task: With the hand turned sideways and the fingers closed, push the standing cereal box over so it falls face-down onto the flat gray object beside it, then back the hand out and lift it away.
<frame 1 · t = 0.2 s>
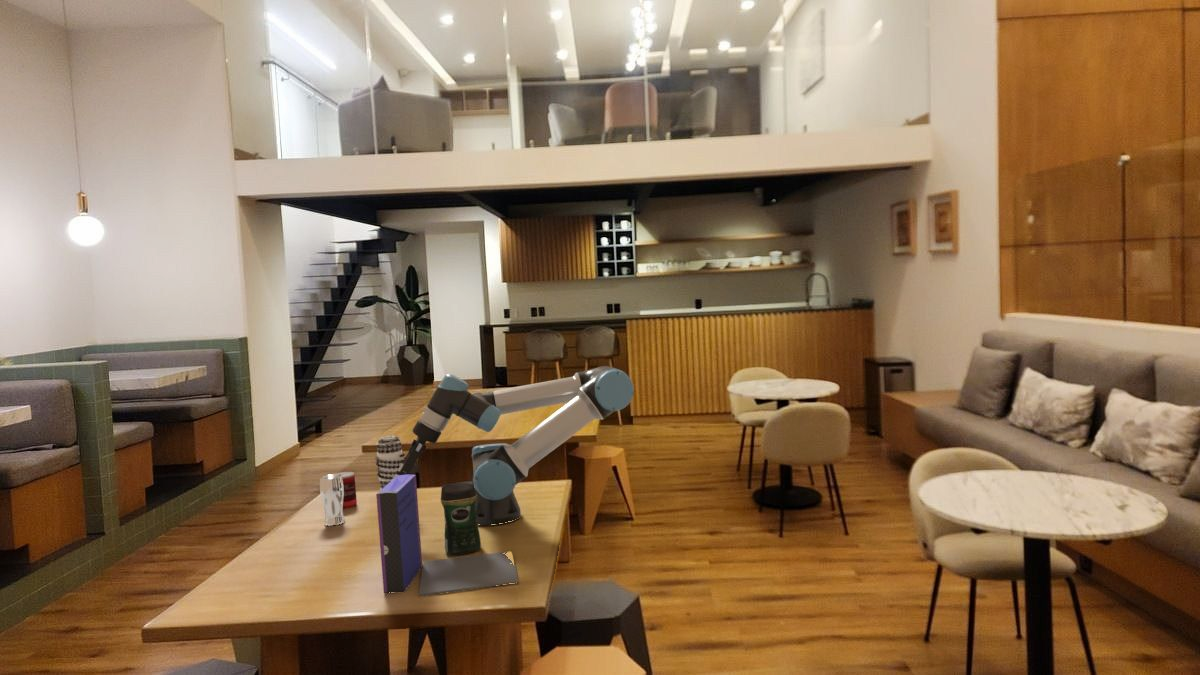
hand: (392, 491, 211), 15 cm above the table, tool tilted 35°, fingers open, 13 cm apart
flat gray object: (468, 573, 186), on the table
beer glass: (334, 523, 237), on the table
cereal box: (404, 579, 185), on the table
decorative candle: (394, 513, 244), on the table
coffee jar: (463, 551, 203), on the table
canned food: (345, 506, 256), on the table
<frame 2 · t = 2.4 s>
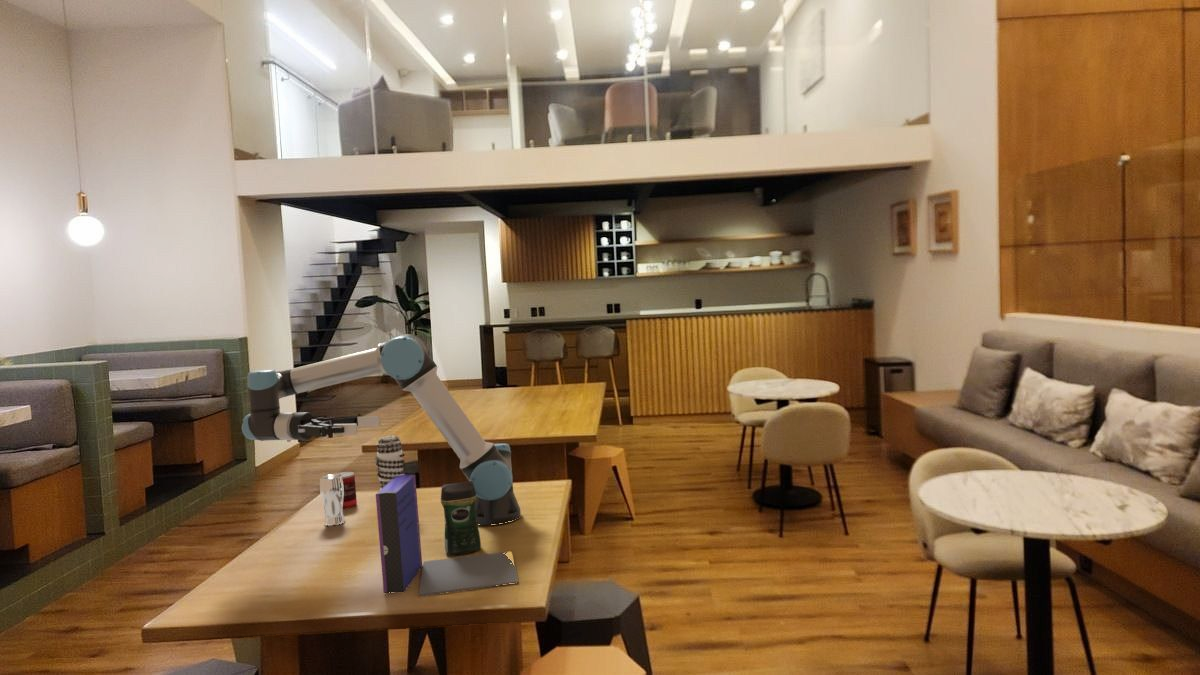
hand: (368, 425, 199), 36 cm above the table, tool horizontal, fingers open, 10 cm apart
nothing on the table moved.
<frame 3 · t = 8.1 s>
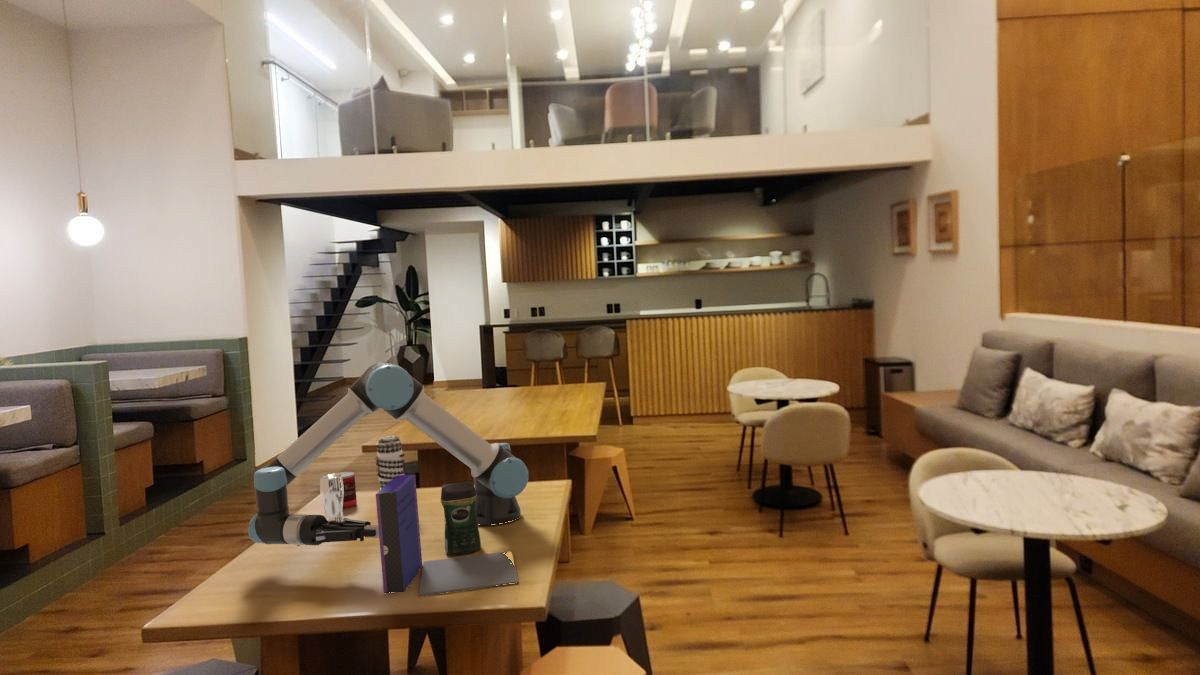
hand: (389, 531, 185), 12 cm above the table, tool horizontal, fingers closed
cereal box: (404, 579, 185), on the table, touching gripper
everything else where it was.
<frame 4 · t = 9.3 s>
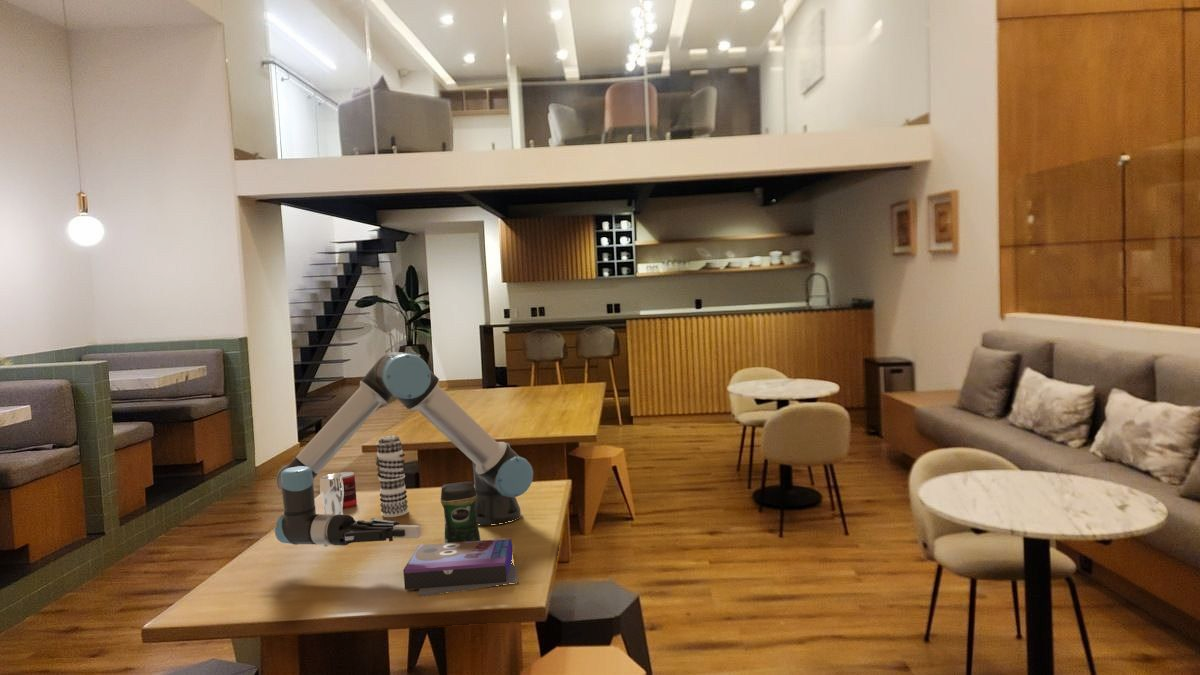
hand: (418, 531, 183), 12 cm above the table, tool horizontal, fingers closed
cereal box: (411, 566, 185), point 3 cm above the table, touching flat gray object
everything else where it was.
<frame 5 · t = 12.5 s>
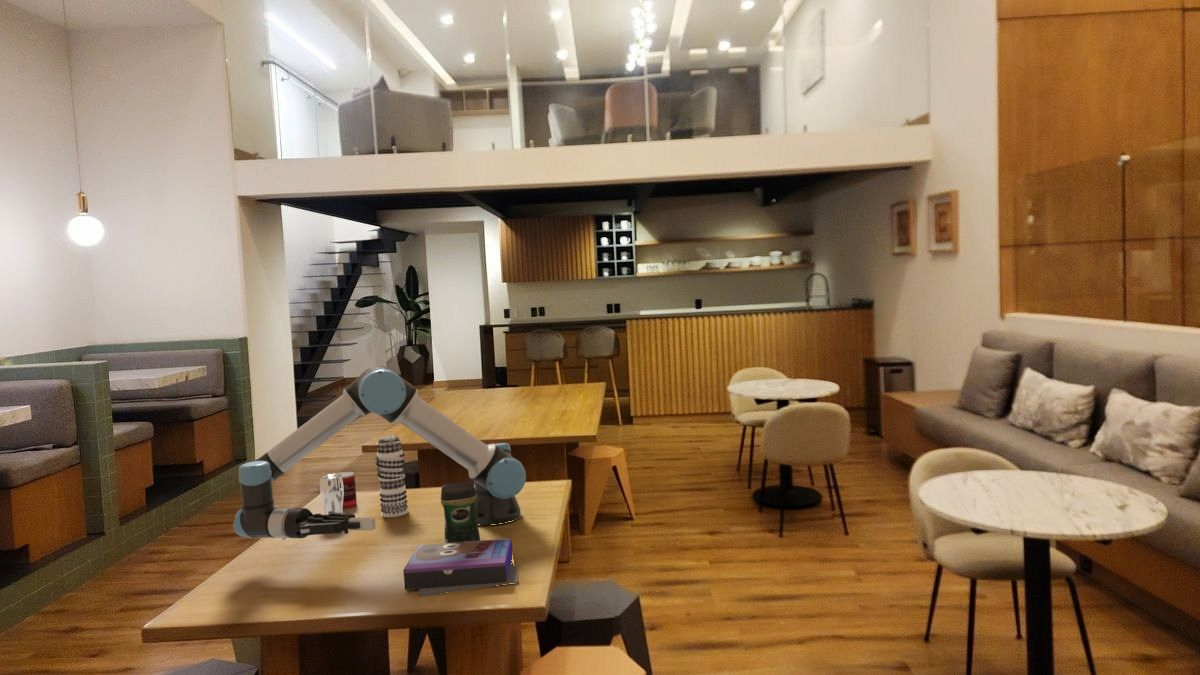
hand: (373, 524, 186), 14 cm above the table, tool horizontal, fingers closed
nothing on the table moved.
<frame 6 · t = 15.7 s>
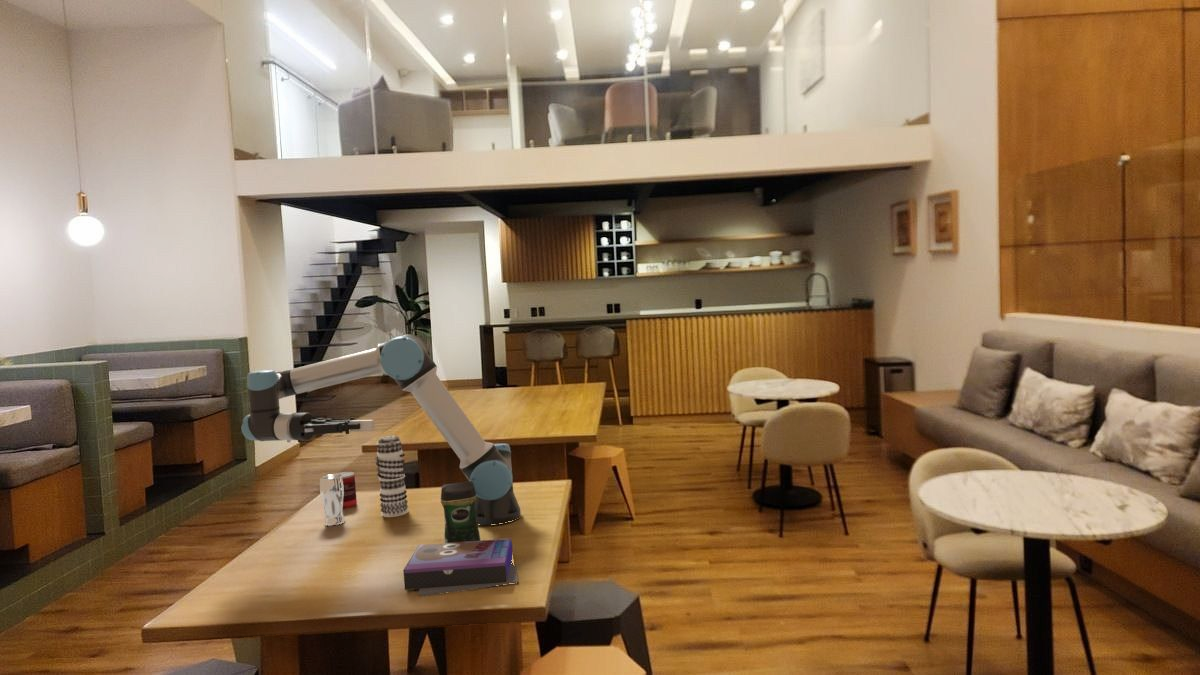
hand: (372, 425, 199), 36 cm above the table, tool horizontal, fingers closed
nothing on the table moved.
at the end: cereal box tilted 90°; cereal box touching flat gray object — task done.
